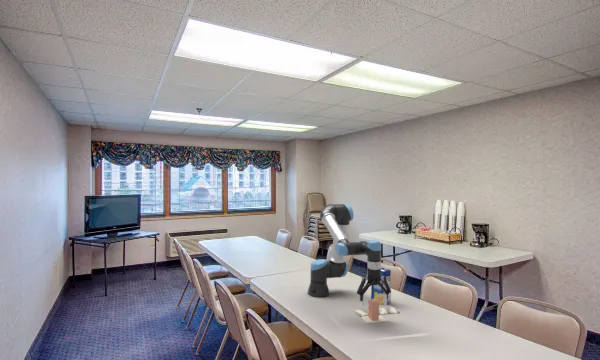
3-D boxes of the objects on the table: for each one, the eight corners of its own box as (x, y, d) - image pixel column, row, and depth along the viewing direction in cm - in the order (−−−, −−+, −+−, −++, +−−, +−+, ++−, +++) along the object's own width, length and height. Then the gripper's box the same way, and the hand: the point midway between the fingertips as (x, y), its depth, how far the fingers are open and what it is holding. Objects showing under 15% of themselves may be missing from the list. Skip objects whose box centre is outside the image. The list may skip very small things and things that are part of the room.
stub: (366, 323, 179) (366, 303, 179) (361, 318, 186) (361, 299, 186) (386, 321, 182) (386, 302, 182) (380, 316, 189) (380, 297, 189)
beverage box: (383, 305, 209) (383, 271, 209) (371, 300, 218) (371, 267, 219) (390, 303, 213) (391, 270, 213) (378, 298, 222) (378, 266, 222)
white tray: (366, 325, 179) (366, 322, 179) (353, 313, 196) (353, 310, 196) (409, 321, 185) (409, 318, 185) (392, 309, 202) (392, 306, 202)
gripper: (356, 271, 178) (356, 310, 177) (397, 268, 183) (397, 306, 183) (351, 267, 185) (350, 305, 184) (390, 265, 191) (390, 302, 190)
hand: (373, 306), depth 184 cm, fingers open, 13 cm apart
